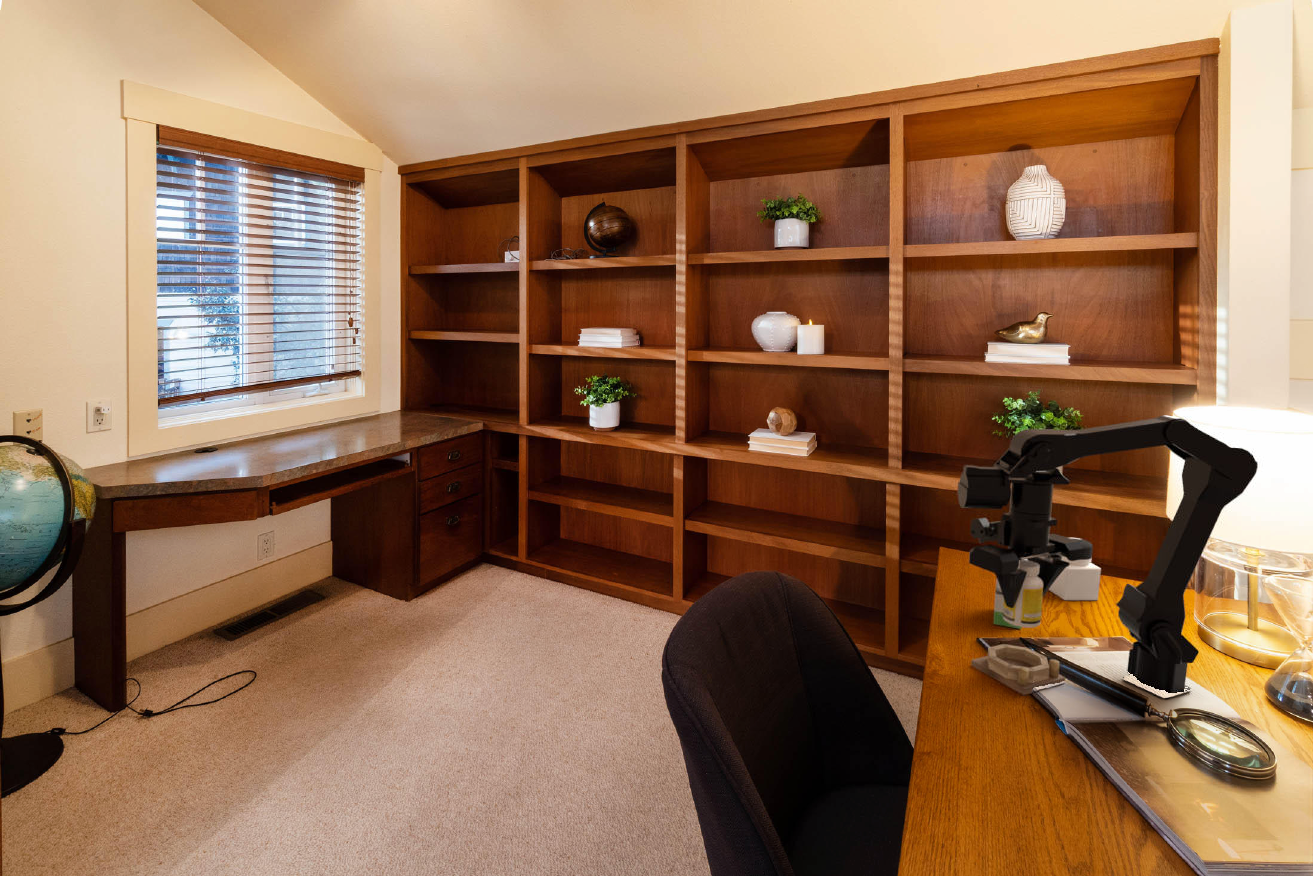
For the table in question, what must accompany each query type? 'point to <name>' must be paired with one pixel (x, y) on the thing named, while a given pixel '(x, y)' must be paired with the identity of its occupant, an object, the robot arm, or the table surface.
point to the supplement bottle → (1027, 599)
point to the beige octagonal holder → (1019, 667)
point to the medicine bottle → (1078, 577)
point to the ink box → (1000, 608)
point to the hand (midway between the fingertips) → (1022, 604)
